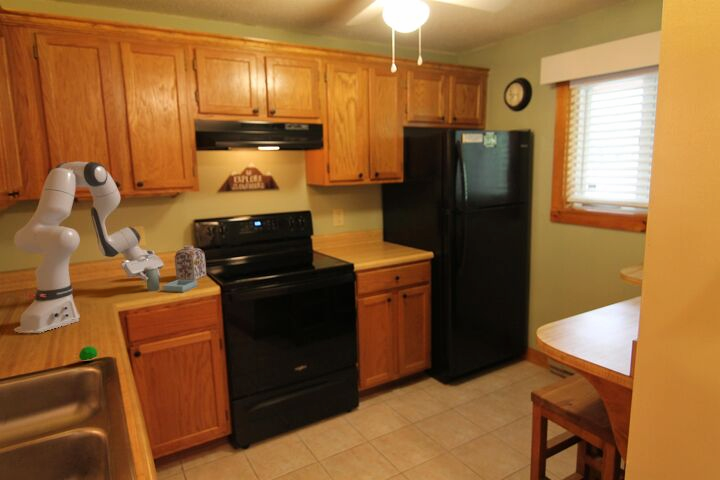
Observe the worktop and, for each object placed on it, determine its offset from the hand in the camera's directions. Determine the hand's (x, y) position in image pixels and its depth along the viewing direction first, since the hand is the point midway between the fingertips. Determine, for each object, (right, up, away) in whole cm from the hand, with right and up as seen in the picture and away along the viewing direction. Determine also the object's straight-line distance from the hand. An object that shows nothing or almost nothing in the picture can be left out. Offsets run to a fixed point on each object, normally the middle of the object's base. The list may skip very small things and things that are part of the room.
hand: (153, 278), depth 225 cm
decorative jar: (+11, -2, +24) cm, 26 cm away
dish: (+13, -5, +1) cm, 14 cm away
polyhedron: (+17, -20, -82) cm, 86 cm away
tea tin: (0, -6, +1) cm, 6 cm away
